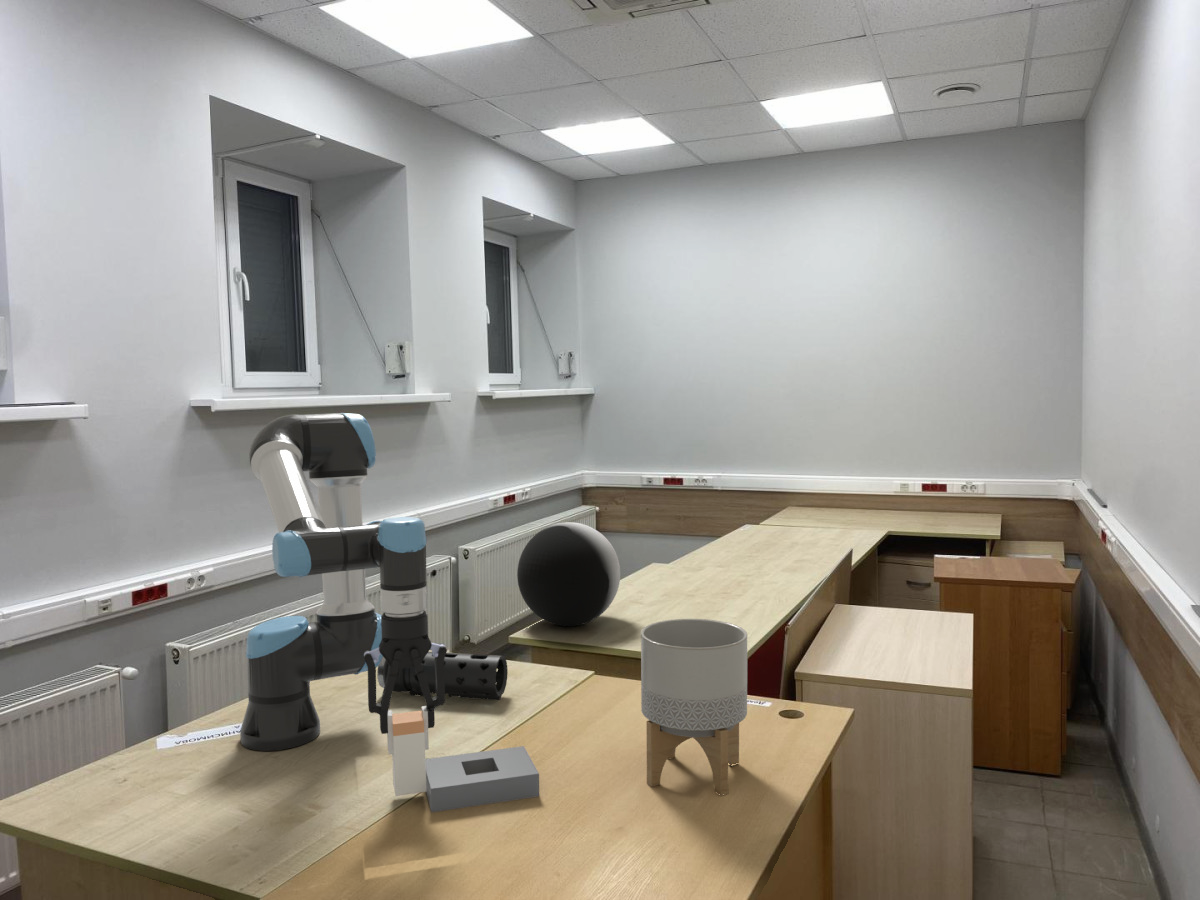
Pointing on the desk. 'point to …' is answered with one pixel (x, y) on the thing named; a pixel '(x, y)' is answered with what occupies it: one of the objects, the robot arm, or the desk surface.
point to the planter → (693, 692)
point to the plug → (408, 753)
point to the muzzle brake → (454, 676)
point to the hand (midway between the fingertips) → (408, 748)
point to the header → (480, 778)
